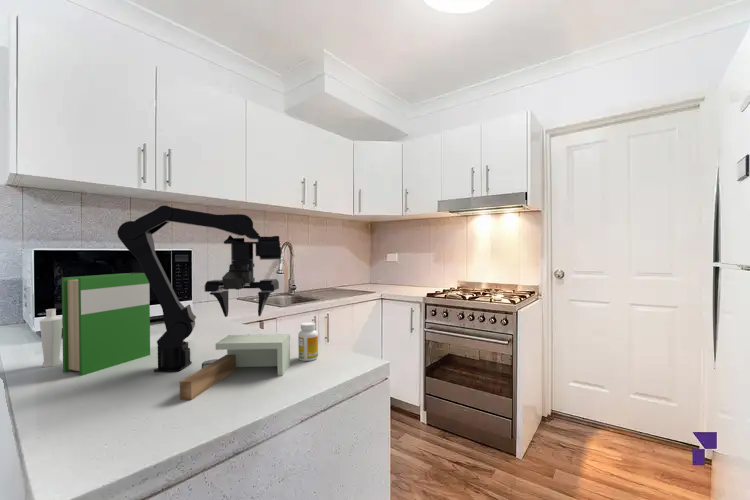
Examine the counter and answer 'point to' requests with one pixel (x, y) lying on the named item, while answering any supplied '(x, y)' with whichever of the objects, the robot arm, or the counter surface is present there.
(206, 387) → the walnut bar
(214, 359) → the steel puck
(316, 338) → the supplement bottle
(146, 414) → the counter surface
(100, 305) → the hardback book
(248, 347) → the sage shelf
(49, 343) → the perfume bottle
